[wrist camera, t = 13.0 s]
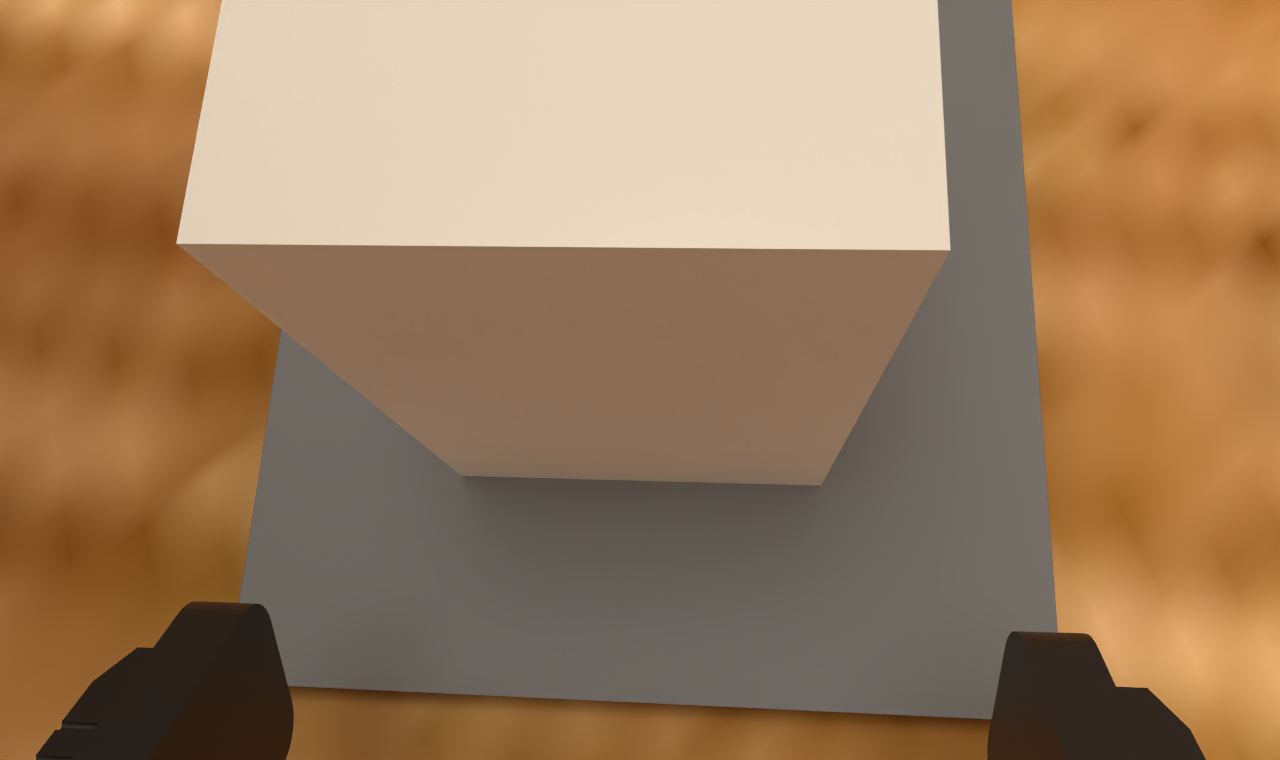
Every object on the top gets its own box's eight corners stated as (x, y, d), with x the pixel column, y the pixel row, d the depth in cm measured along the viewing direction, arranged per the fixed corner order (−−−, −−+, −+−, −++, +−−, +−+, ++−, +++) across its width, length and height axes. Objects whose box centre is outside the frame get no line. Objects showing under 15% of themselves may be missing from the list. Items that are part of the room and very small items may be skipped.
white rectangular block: (821, 485, 18) (951, 250, 8) (461, 475, 18) (177, 243, 8) (817, 157, 19) (919, -354, 10) (491, 157, 20) (283, -330, 10)
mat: (1045, 720, 17) (1063, 722, 16) (251, 683, 18) (227, 682, 17) (997, 19, 21) (1010, -13, 20) (349, 23, 22) (333, -6, 21)
